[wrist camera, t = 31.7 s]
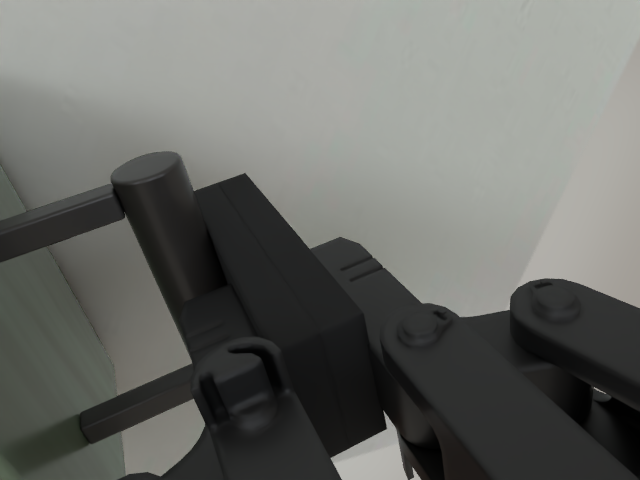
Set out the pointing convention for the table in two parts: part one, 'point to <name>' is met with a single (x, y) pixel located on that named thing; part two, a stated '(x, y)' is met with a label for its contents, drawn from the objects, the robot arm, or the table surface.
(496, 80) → the table surface
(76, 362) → the drawer
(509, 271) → the table surface
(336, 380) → the robot arm
